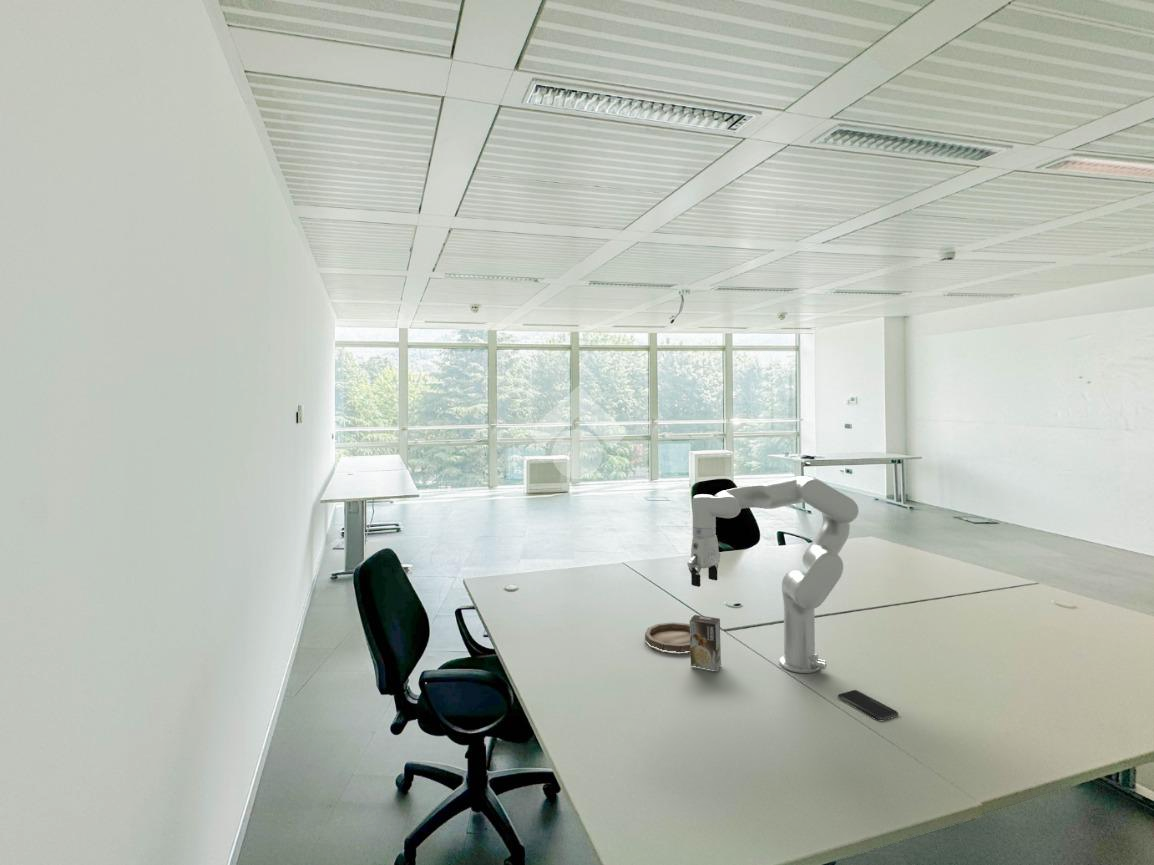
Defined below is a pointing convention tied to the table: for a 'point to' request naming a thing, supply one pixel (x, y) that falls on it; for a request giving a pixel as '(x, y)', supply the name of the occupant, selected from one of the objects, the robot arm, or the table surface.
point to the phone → (868, 705)
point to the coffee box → (705, 642)
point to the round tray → (669, 636)
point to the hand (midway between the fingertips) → (704, 582)
